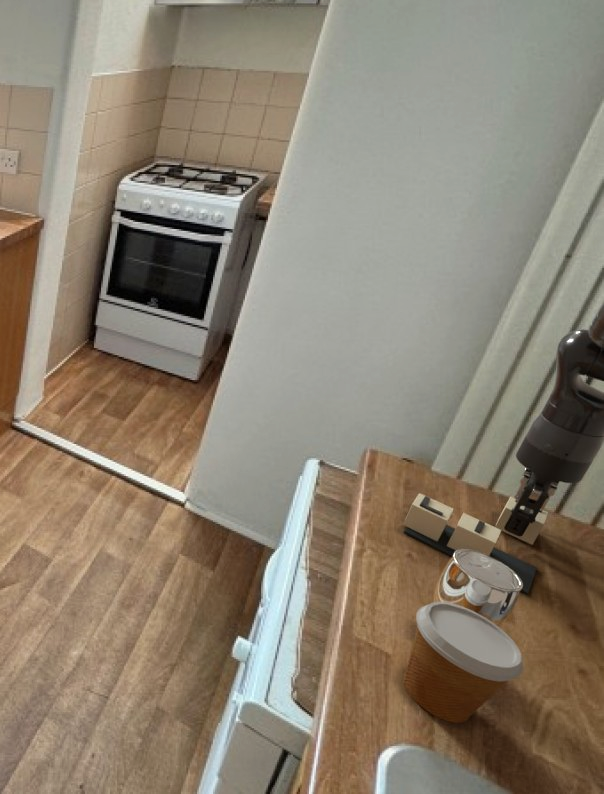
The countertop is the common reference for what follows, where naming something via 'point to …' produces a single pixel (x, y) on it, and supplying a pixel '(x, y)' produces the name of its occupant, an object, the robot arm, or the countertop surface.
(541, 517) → the tile
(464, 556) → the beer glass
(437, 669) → the disposable coffee cup
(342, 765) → the countertop surface
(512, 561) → the word mat
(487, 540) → the tile
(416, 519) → the tile
